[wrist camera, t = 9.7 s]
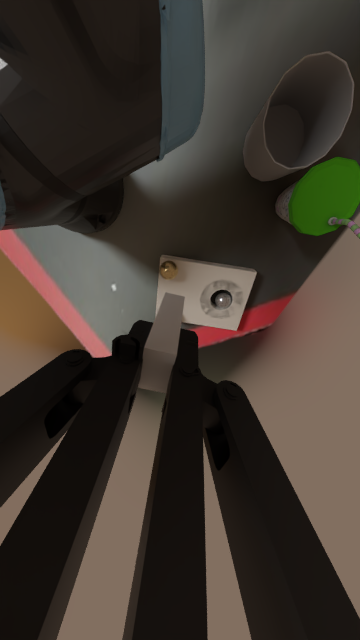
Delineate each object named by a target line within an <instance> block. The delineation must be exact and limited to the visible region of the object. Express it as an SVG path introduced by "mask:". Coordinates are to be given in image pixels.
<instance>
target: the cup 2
mask: <svg viewBox="0 0 360 640" xmlns="http://www.w3.org/2000/svg"><path fill="white" fill-rule="evenodd" d="M359 203H360V166H359V165H358V163H357V162H356V160H352V159H347V158H341V157H335V158H332V159H330V160H328V161H325V162H323V163H321V164H318V165H316V166H313V167H311V169H310V170H309V171H308V172H307V173H306V174H305V175H304V176H303V177H302V178H301V179H300V180H298V181H297V182H295V183H294V184H292V185H291V186H289V187H288V188H286V189H285V190H283V192H282V193H281V194H280V195H279V196H278V198H277V200H276V203H275V211H276V214H277V215H278V216H279V217H280V218H281V219H283V220H285V221H287V222H289V223H290V224H292V225H293V226H294V227H295V229H296V230H297V231H298V232H299V233H304V234H309V235H314V236H320V235H323V234H326V233H329V232H332V231H334V230H337V229H338V228H339V227H340V226H341V225H347V226H348V227H349V228H350V229H351V230H352V231H353V232H354V233H355V234H356V235H357V236H358V237H359V238H360V228H359V227H358V226H357V225H356V224H355V223H354V221H352V220H349V218H350V217H352V216H353V214H354V212H355V210H356V209H357V207H358V205H359Z"/></svg>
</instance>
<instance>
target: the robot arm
mask: <svg viewBox="0 0 360 640" xmlns="http://www.w3.org/2000/svg"><path fill="white" fill-rule="evenodd" d="M204 90H205V45H204V20H203V3H202V0H0V230H8V229H18V228H28V227H39V226H49V225H59V226H61V227H64V228H66V229H68V230H71V231H74V232H79V233H92V232H97V231H101V230H103V229H105V228H107V227H108V226H110V225H111V224H112V223H113V222H114V221H115V219H116V218H117V216H118V214H119V212H120V210H121V207H122V202H123V194H124V188H123V179H122V178H123V177H125V176H127V175H129V174H131V173H132V172H134V171H136V170H138V169H140V168H142V167H144V166H146V165H147V164H149V163H151V162H153V161H155V160H157V162H158V161H161V160H162V159H163V158H164V155H165V154H167V153H169V152H170V151H172V150H174V149H175V148H177V147H179V146H180V145H182V144H184V143H185V142H187V141H188V140H189V139H190V138H191V137H192V136H193V135H194V134H195V132H196V130H197V128H198V125H199V123H200V119H201V115H202V111H203V104H204ZM184 300H185V297H184V296H180V295H176V294H171V293H167V292H165V295H164V297H163V300H162V302H161V305H160V308H159V310H158V313H157V315H156V318H155V321H154V323H152V322H147V321H143V320H139V321H137V322H136V323H134V325H133V326H132V328H131V330H130V332H129V334H128V335H121V336H118V337H116V338H115V339H114V340H113V341H112V356H108V357H102V358H92V357H91V355H90V353H88V352H87V351H85V350H81V349H76V350H75V349H74V350H70V351H67V352H64V353H62V354H61V355H59V356H58V357H56V358H55V359H54V360H52V361H51V362H49V363H48V364H46V365H45V366H44V367H42V368H41V369H39V370H38V371H36V372H35V373H34V374H32V375H31V376H30V377H28V378H27V379H25V380H24V381H22V382H21V383H20V384H18V385H17V386H15V387H14V388H12V389H11V390H10V391H8V392H7V393H5V394H4V395H2V396H1V397H0V507H1V506H2V505H3V504H4V503H5V502H6V500H7V499H8V498H9V497H10V496H11V495H12V494H13V492H14V491H15V490H16V489H17V488H18V487H19V485H20V484H21V483H22V482H23V481H24V480H25V478H26V477H27V476H28V475H29V474H30V473H31V472H32V471H33V469H34V468H35V467H36V466H37V465H38V464H39V462H40V461H41V460H42V459H43V458H44V457H45V456H46V454H47V453H48V452H49V451H50V450H51V449H52V448H53V446H54V445H55V444H56V443H57V442H58V441H59V439H60V438H61V437H62V436H63V435H64V434H65V433H66V431H67V430H68V431H67V433H66V434H65V436H64V438H63V440H62V441H61V443H60V445H59V447H58V448H57V450H56V452H55V453H54V455H53V457H52V459H51V460H50V462H49V464H48V465H47V467H46V469H45V470H44V472H43V474H42V476H41V477H40V479H39V481H38V482H37V484H36V486H35V487H34V489H33V491H32V493H31V494H30V496H29V498H28V499H27V501H26V503H25V505H24V506H23V508H22V510H21V511H20V513H19V515H18V517H17V518H16V520H15V522H14V524H13V525H12V527H11V529H10V530H9V532H8V534H7V535H6V537H5V539H4V541H3V543H2V544H1V546H0V640H56V639H57V636H58V633H59V630H60V627H61V624H62V621H63V617H64V614H65V611H66V608H67V605H68V602H69V599H70V596H71V593H72V590H73V587H74V584H75V581H76V578H77V575H78V572H79V568H80V565H81V562H82V559H83V556H84V553H85V550H86V547H87V544H88V540H89V538H90V535H91V532H92V529H93V526H94V522H95V520H96V516H97V513H98V510H99V507H100V504H101V501H102V498H103V495H104V492H105V489H106V486H107V483H108V480H109V477H110V474H111V470H112V467H113V464H114V461H115V458H116V455H117V452H118V449H119V446H120V443H121V440H122V437H123V434H124V431H125V428H126V425H127V422H128V419H129V415H130V412H131V409H132V406H133V403H134V400H135V397H136V390H137V387H138V388H143V389H148V390H152V391H158V392H162V393H166V398H165V401H164V405H163V408H162V417H161V423H160V428H159V434H158V440H157V446H156V451H155V457H154V463H153V469H152V474H151V480H150V485H149V491H148V497H147V503H146V508H145V514H144V520H143V525H142V531H141V537H140V543H139V548H138V554H137V559H136V565H135V571H134V577H133V582H132V588H131V594H130V600H129V605H128V611H127V616H126V622H125V628H124V634H123V639H122V640H208V639H207V596H206V552H205V511H204V510H205V508H204V464H203V439H204V443H205V447H206V451H207V455H208V459H209V463H210V468H211V472H212V476H213V480H214V484H215V489H216V492H217V497H218V501H219V505H220V509H221V513H222V518H223V522H224V526H225V530H226V534H227V538H228V543H229V547H230V551H231V555H232V559H233V564H234V568H235V571H236V576H237V580H238V584H239V589H240V593H241V597H242V601H243V605H244V609H245V613H246V618H247V622H248V626H249V630H250V634H251V639H252V640H360V618H359V617H358V615H357V613H356V611H355V609H354V607H353V605H352V603H351V601H350V599H349V597H348V595H347V593H346V591H345V589H344V587H343V585H342V583H341V581H340V579H339V577H338V575H337V573H336V571H335V569H334V567H333V565H332V563H331V561H330V559H329V557H328V556H327V553H326V552H325V550H324V548H323V546H322V544H321V542H320V540H319V538H318V536H317V534H316V532H315V530H314V528H313V526H312V524H311V522H310V520H309V518H308V516H307V514H306V512H305V510H304V508H303V506H302V504H301V502H300V500H299V499H298V496H297V494H296V492H295V490H294V488H293V487H292V485H291V483H290V481H289V479H288V477H287V475H286V473H285V471H284V469H283V467H282V465H281V463H280V461H279V459H278V457H277V455H276V453H275V451H274V449H273V447H272V445H271V443H270V441H269V439H268V437H267V435H266V433H265V431H264V430H263V427H262V426H261V424H260V422H259V420H258V418H257V416H256V414H255V412H254V410H253V408H252V406H251V404H250V402H249V400H248V398H247V396H246V394H245V392H244V391H243V389H242V388H241V387H240V386H238V385H237V384H236V383H234V382H232V381H227V380H225V381H221V382H220V383H218V384H217V383H214V382H213V381H211V380H209V379H207V378H206V377H204V376H203V375H202V373H201V371H200V369H199V367H198V336H197V334H196V333H195V332H194V331H190V330H185V329H181V321H182V314H183V307H184ZM138 384H139V385H138Z"/></svg>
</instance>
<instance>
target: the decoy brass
mask: <svg viewBox="0 0 360 640" xmlns="http://www.w3.org/2000/svg"><path fill="white" fill-rule="evenodd" d="M159 272H160V275H161V276H162V278H164V279H166V280H172V279H174V278H175V277H176V276H177V274H178V267H177V265H176V264H175V263H174V262H173V261H165V262H163V263H162V264H161V266H160V269H159Z"/></svg>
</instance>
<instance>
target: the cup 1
mask: <svg viewBox="0 0 360 640" xmlns="http://www.w3.org/2000/svg"><path fill="white" fill-rule="evenodd" d="M353 93H354V81H353V78H352V76H351V73H350V70H349V68H348V65H347V62H346V61H345V60H343V59H341V58H340V57H338V56H336V55H334V54H333V53H331V52H329V51H327V52H321V53H316V54H311V55H306V56H305V57H304V58H302V59H301V60H300V61H299V62H297V63H296V64H295V65H294V66H292V67H291V68H290V69H289V70H287V71H286V72H285V73H284V75H283V76H282V78H281V80H280V81H279V83H278V84H277V86H276V87H275V89H274V91H273V92H272V94H271V95H270V97H269V98H268V100H267V102H266V103H265V105H264V106H263V108H262V110H261V111H260V113H259V114H258V116H257V117H256V119H255V121H254V122H253V124H252V126H251V127H250V129H249V130H248V132H247V134H246V138H245V143H244V147H243V157H244V165H245V167H246V169H247V170H248V172H249V173H250V175H251V177H253V178H255V179H258V180H260V181H262V182H263V181H272V180H276V179H279V178H281V177H284V176H286V175H289V174H291V173H294V172H296V171H299V170H301V169H304V168H306V167H308V166H309V165H311V164H313V163H314V162H316V161H317V160H319V159H321V158H322V157H324V156H325V155H326V154H327V153H328V151H329V150H330V149H331V148H332V146H333V145H334V144H335V143H336V142H337V140H338V139H339V138H340V137H341V135H342V133H343V130H344V128H345V126H346V123H347V121H348V119H349V116H350V114H351V111H352V105H353Z"/></svg>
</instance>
